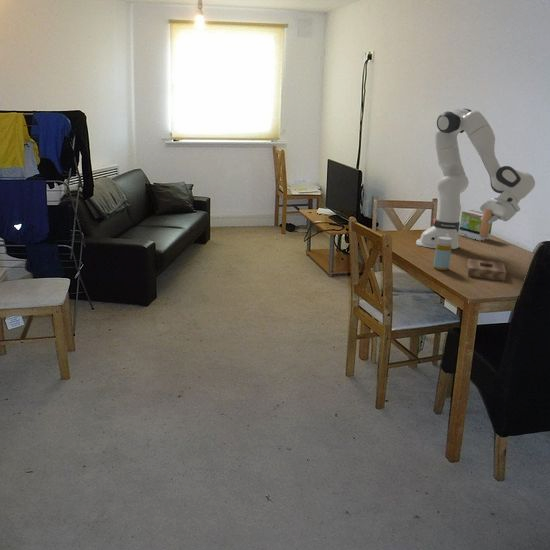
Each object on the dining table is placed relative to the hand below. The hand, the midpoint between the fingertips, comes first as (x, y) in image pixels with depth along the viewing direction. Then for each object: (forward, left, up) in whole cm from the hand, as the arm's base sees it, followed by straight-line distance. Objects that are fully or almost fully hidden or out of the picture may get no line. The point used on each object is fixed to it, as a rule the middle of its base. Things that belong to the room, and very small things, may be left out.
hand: (484, 221), depth 270 cm
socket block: (+3, -16, -21) cm, 26 cm away
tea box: (0, +57, -21) cm, 61 cm away
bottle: (-17, -17, -21) cm, 32 cm away
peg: (+1, 0, -7) cm, 7 cm away
